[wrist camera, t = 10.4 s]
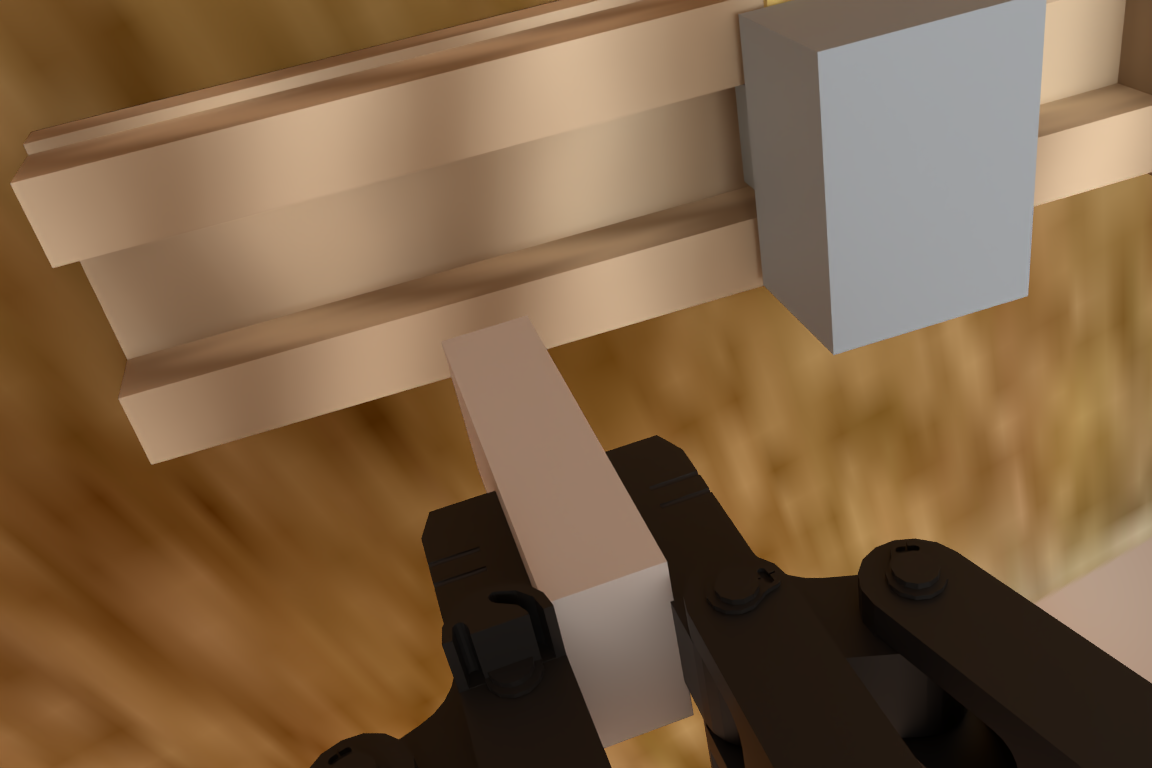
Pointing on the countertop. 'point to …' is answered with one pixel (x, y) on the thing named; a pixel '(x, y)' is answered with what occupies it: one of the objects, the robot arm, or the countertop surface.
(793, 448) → the countertop surface
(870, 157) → the rider
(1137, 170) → the rail
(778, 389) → the countertop surface
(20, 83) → the countertop surface
